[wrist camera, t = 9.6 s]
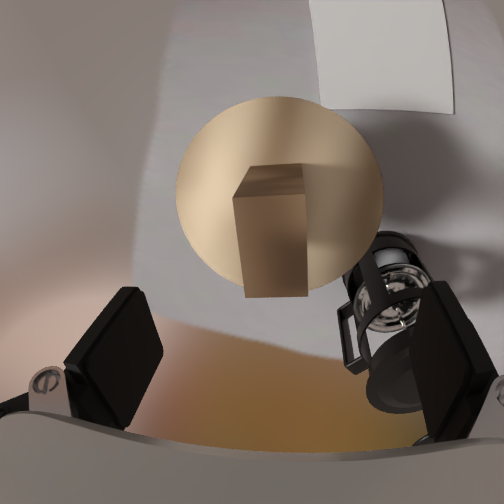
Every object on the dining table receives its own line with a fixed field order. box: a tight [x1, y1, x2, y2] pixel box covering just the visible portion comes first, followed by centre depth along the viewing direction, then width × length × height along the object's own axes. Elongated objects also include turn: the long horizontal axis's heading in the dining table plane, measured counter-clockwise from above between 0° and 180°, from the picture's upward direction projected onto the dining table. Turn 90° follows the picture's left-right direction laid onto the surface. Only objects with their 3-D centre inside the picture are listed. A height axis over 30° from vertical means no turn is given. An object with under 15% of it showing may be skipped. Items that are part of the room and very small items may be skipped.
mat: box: [309, 0, 453, 114], centre depth 24 cm, size 14×14×1 cm
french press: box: [337, 231, 434, 446], centre depth 25 cm, size 12×9×23 cm
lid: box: [176, 97, 384, 298], centre depth 17 cm, size 13×13×7 cm
